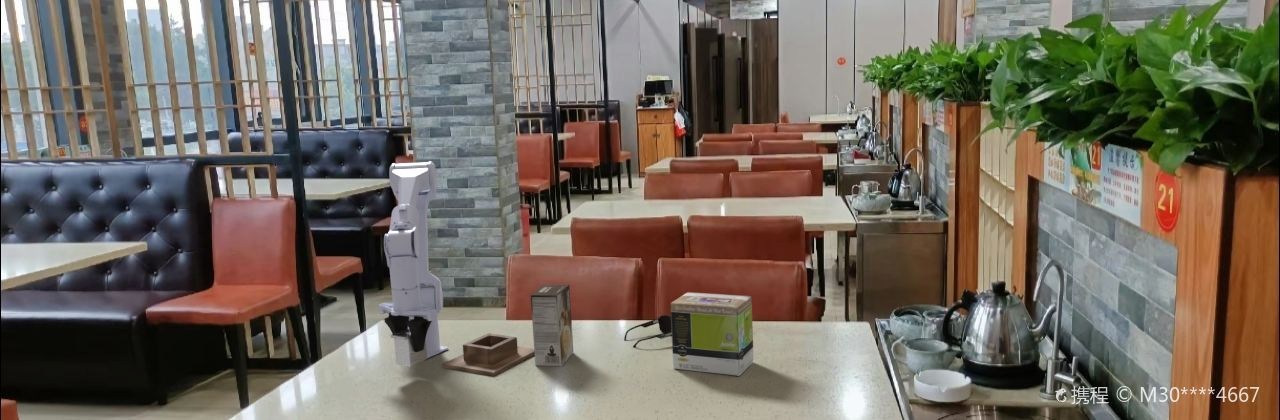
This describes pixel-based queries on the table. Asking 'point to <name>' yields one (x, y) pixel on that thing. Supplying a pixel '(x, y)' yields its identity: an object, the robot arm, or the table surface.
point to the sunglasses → (663, 325)
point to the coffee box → (552, 325)
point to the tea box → (712, 333)
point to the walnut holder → (490, 355)
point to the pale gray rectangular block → (407, 349)
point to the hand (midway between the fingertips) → (411, 349)
